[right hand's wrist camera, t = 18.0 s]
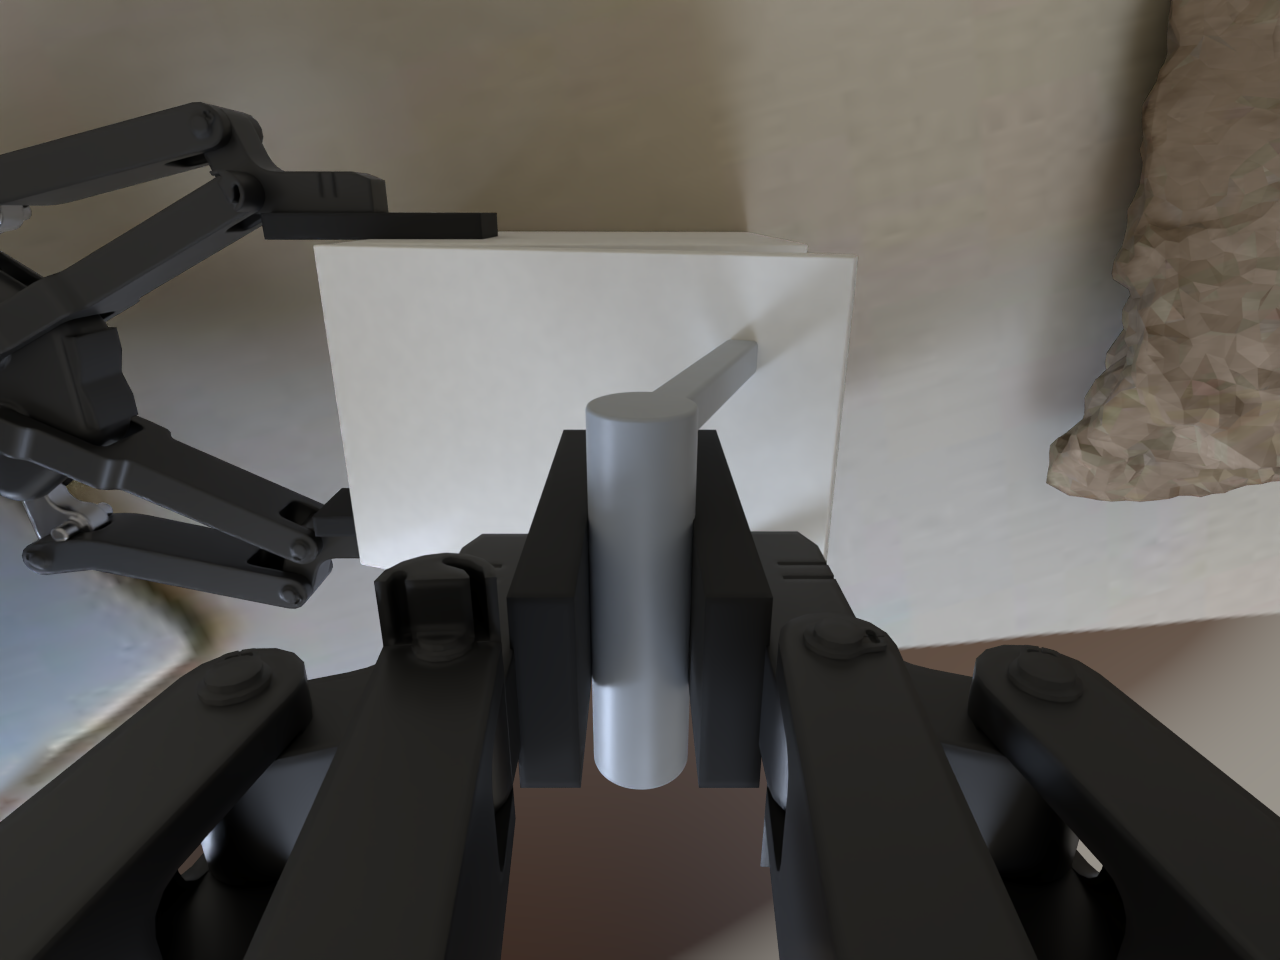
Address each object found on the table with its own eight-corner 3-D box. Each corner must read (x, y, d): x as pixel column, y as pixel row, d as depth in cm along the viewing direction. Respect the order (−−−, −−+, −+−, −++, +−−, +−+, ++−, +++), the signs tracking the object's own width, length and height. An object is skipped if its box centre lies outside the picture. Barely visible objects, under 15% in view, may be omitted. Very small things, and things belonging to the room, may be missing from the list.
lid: (858, 253, 15) (805, 293, 8) (819, 632, 18) (756, 907, 11) (337, 243, 19) (-7, 263, 12) (380, 551, 22) (128, 712, 15)
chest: (748, 231, 29) (808, 244, 19) (737, 444, 33) (784, 550, 22) (437, 231, 29) (333, 243, 19) (456, 444, 33) (375, 550, 22)
